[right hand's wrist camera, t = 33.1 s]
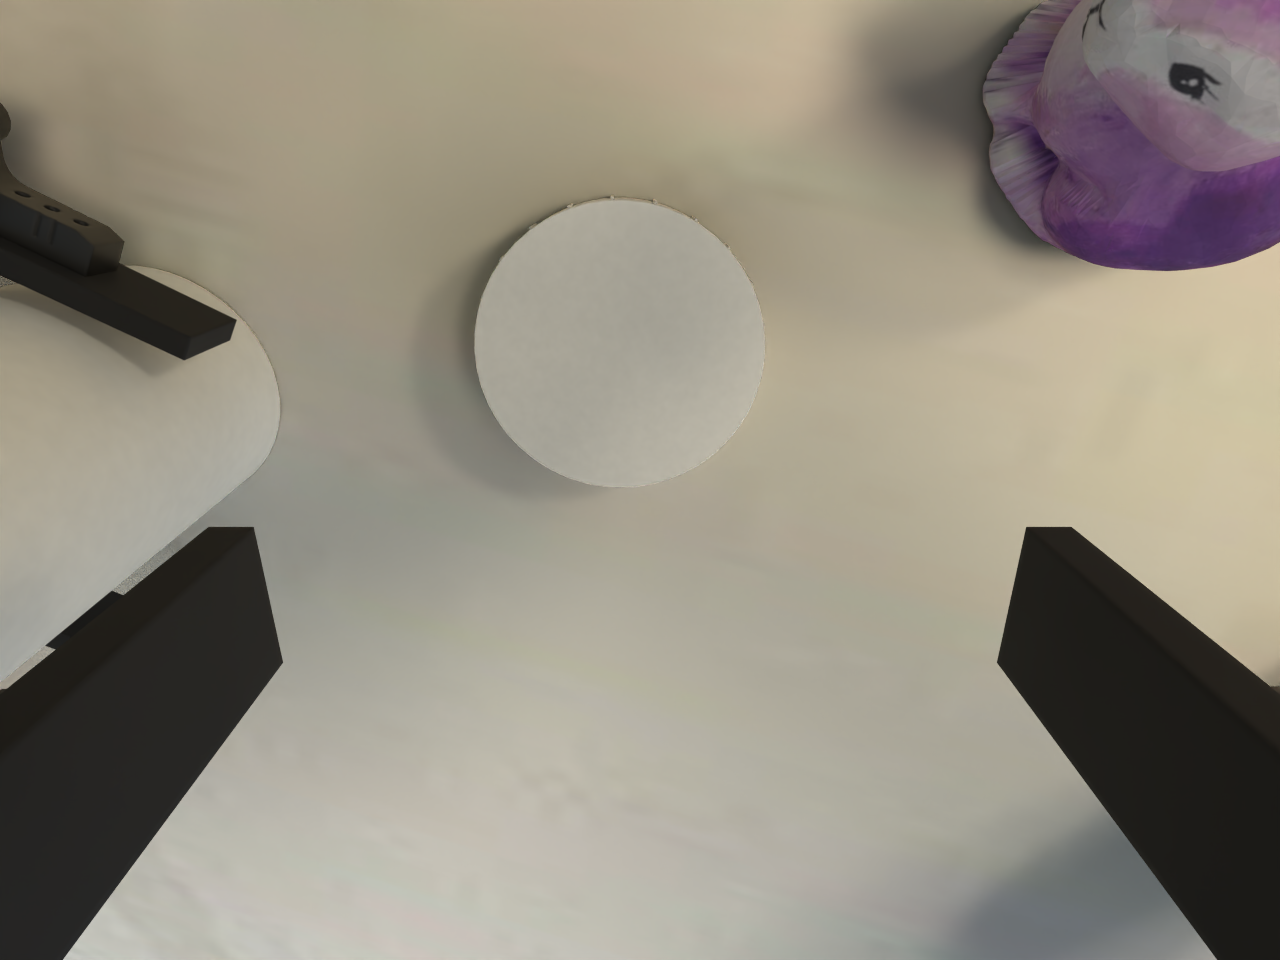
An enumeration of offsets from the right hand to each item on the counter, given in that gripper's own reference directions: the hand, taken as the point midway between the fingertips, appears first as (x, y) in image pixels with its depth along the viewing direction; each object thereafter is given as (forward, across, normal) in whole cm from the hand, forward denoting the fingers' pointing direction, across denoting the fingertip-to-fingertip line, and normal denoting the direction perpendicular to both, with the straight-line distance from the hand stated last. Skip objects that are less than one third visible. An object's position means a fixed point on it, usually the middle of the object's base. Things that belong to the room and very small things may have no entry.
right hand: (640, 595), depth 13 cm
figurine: (+18, -16, -8) cm, 26 cm away
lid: (+16, +1, -1) cm, 16 cm away
